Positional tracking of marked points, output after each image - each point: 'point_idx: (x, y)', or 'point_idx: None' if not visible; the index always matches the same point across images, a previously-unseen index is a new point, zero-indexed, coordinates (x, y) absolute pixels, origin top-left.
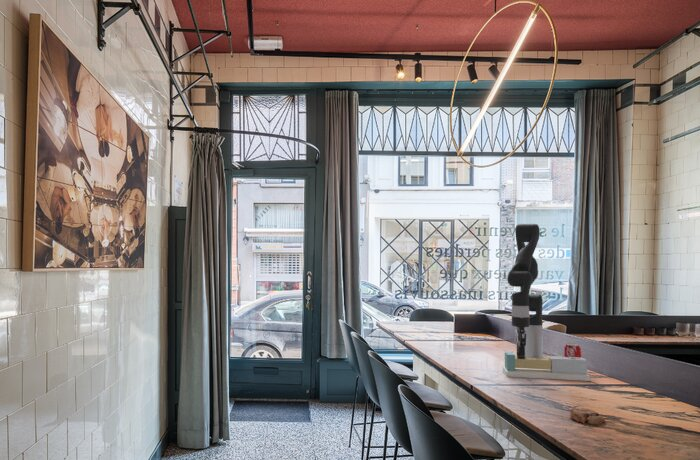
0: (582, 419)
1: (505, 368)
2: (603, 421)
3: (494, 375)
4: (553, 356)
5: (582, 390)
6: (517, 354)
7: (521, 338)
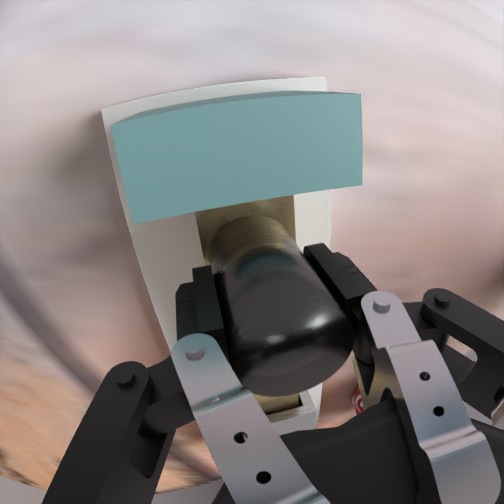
0: None
1: (229, 93)
2: None
3: (110, 26)
4: (307, 425)
5: (50, 412)
6: (234, 243)
7: (62, 494)
